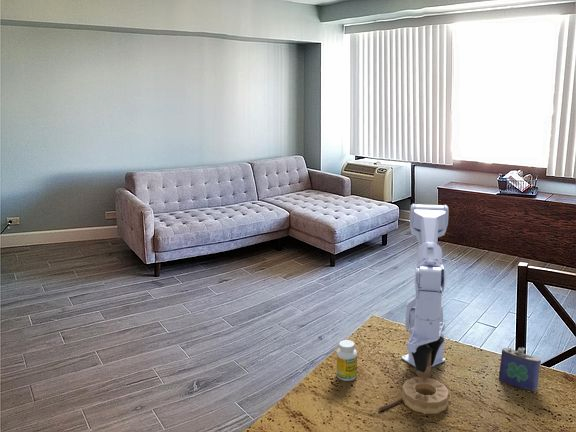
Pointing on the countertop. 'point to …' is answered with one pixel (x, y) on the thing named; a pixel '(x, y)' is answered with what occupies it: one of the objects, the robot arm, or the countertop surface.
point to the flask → (519, 369)
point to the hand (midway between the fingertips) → (424, 367)
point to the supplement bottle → (346, 361)
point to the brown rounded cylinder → (428, 368)
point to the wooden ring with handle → (423, 396)
